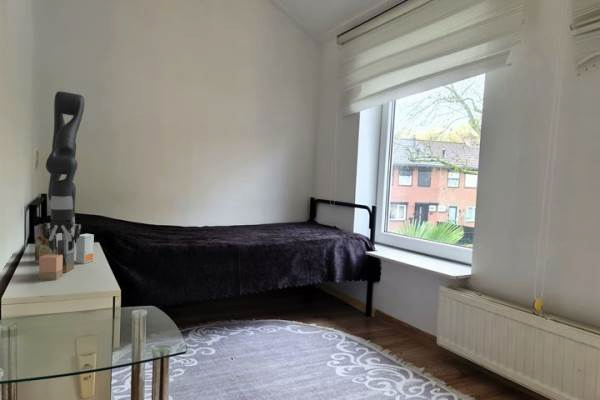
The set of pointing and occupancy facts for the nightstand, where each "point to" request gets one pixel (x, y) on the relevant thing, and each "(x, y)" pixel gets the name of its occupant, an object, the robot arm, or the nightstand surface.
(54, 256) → the peach rectangular block
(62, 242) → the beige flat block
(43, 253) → the coffee box
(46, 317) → the nightstand surface
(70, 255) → the sleeve
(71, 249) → the robot arm
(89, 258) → the skincare box
